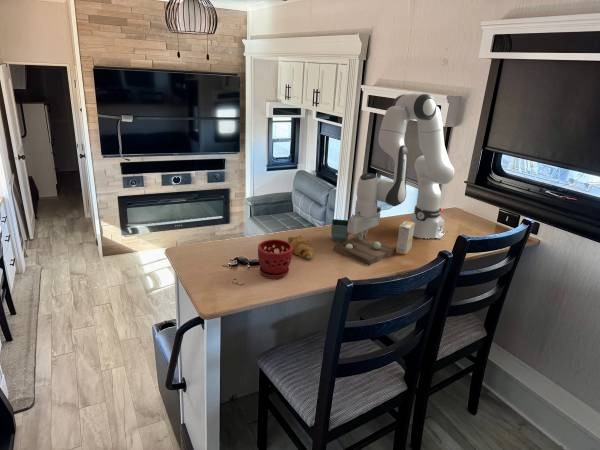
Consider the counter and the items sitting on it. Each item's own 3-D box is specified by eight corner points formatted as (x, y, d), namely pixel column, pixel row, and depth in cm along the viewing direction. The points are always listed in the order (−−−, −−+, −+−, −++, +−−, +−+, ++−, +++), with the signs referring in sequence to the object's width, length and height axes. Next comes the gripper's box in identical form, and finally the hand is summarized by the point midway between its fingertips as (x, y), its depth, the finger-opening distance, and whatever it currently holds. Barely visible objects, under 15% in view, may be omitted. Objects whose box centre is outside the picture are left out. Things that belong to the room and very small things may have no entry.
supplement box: (401, 246, 193) (404, 220, 188) (411, 249, 191) (415, 222, 186) (395, 252, 186) (399, 225, 182) (405, 255, 184) (409, 227, 179)
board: (357, 240, 197) (357, 235, 196) (393, 254, 184) (393, 249, 184) (332, 250, 185) (333, 245, 184) (369, 265, 172) (370, 260, 171)
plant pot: (250, 272, 161) (250, 244, 157) (276, 263, 170) (276, 236, 166) (272, 285, 153) (273, 255, 149) (298, 274, 161) (299, 246, 157)
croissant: (316, 267, 176) (325, 251, 175) (298, 261, 170) (307, 244, 170) (293, 248, 193) (301, 233, 193) (277, 241, 188) (285, 226, 187)
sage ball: (375, 246, 185) (376, 239, 184) (382, 249, 183) (382, 242, 182) (371, 248, 183) (372, 241, 181) (377, 251, 180) (378, 244, 179)
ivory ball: (346, 250, 187) (349, 243, 187) (352, 253, 185) (355, 245, 185) (342, 249, 185) (345, 242, 185) (348, 251, 182) (351, 244, 183)
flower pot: (348, 237, 201) (350, 220, 198) (348, 244, 193) (350, 226, 190) (330, 236, 202) (331, 218, 199) (329, 242, 193) (331, 224, 190)
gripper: (356, 216, 176) (354, 246, 181) (383, 207, 190) (380, 235, 195) (345, 213, 180) (342, 242, 185) (372, 204, 194) (369, 231, 199)
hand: (362, 238), depth 190 cm, fingers closed
